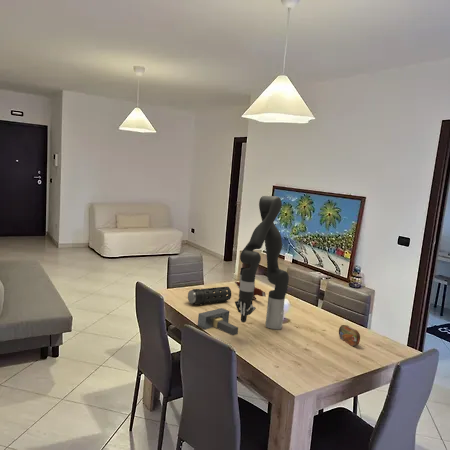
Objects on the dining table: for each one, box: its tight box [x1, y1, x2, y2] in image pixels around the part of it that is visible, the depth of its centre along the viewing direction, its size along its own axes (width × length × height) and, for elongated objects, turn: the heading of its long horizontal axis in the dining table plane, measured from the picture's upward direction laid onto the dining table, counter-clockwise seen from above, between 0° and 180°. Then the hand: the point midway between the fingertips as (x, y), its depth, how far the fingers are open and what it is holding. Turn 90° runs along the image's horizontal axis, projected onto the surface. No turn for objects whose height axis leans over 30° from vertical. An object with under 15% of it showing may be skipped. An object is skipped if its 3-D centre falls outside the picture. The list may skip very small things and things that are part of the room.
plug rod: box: [212, 317, 239, 336], centre depth 222 cm, size 16×4×4 cm, turn 45°
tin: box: [338, 324, 361, 347], centre depth 219 cm, size 15×3×8 cm, turn 21°
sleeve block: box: [197, 307, 230, 330], centre depth 228 cm, size 6×18×7 cm, turn 135°
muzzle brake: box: [187, 286, 232, 306], centre depth 265 cm, size 10×28×10 cm, turn 123°
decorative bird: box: [234, 281, 267, 300], centre depth 278 cm, size 28×18×15 cm, turn 42°
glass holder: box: [237, 267, 246, 290], centre depth 306 cm, size 9×14×15 cm, turn 40°
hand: (243, 321), depth 212 cm, fingers closed
